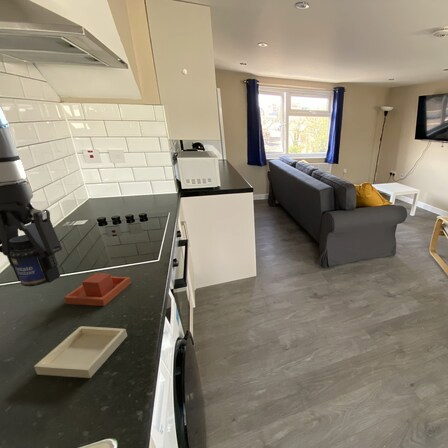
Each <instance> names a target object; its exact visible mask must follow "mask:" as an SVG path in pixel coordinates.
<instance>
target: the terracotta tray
mask: <svg viewBox="0 0 448 448" xmlns="http://www.w3.org/2000/svg"><path fill="white" fill-rule="evenodd" d="M111 278H112V281H113V285H114V288H113V289H111V290H110V291H109V292H108V293H106V294H105V295H104V296H103V297H96V296H86V293H85V290H84V287H83V284H81V285H79V286H78V287H77V288H75V289H74V290H72V291H71V292H70V293H68V294H67V295H65V296H64V297H63V299H64V301H65V304H66V305H80V306H99V307H105V306H106V305H108V304H109V303H110V302H111V301H112V300H113V299H114V298H116V297H117V296H118V295H119V294H120V293H122V292H123V291H124V290H125V289H126V288H127V287H128V286H129V285H130V284H132V282H131V278H130V277H129V276H112V275H111Z"/></svg>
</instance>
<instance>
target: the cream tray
mask: <svg viewBox="0 0 448 448" xmlns="http://www.w3.org/2000/svg"><path fill="white" fill-rule="evenodd" d="M127 337H128V332H127V329H126V328H115V327H103V326H101V327H99V326H98V327H97V326H82V325H81V326H79V327H78V328H76V330H74V331H73V332H72V333H71V334H69V335H68V336H67V337H66V338H65V339H64V340H63V341H61V342H60V343H59V344H58V345H56V346H55V347H54V348H53V349H52V350H51V351H50V352H49V353H48V354H47V355H44V357H43V358H41V359H40V360H39V361H38V362H37V363H36V364H35V365H33V368H34V370H35V373H36V375H40V376H53V377H54V376H55V377H68V378H83V379H84V378H85V379H91V378H92V377H93V376H94V375H95V374H96V372H97V371H98V370H99V369H100V368H101V367H102V366H103V364H104V363H106V361H107V360H108V359H109V357H111V355H112V354H113V353H114V352H115V351H116V350H117V348H119V347H120V345H121V344H122V343H123V342H124V341H125V340H126V338H127Z"/></svg>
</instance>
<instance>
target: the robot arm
mask: <svg viewBox="0 0 448 448" xmlns="http://www.w3.org/2000/svg"><path fill="white" fill-rule="evenodd" d="M26 178H27V175H26V171H25V170H24V166H23V163H22V161H21V158H20V154H19V151H18V148H17V146H16V142H15V140H14V137H13V133H12V131H11V127H10V123H9V121H8V120H7V118H6V116H5V113H4V111H3V109H2V107H1V106H0V253H2V254H3V255H4V256H6V257H7V261H8V262H9V265H10V266H11V268H12V269H13V271H14V273H15V276H16V278H17V281H18V282H21V281H20V279H19V276H18V274H17V272H16V269H15V267H14V264H13V262H12V259H11V257H10V252H11V250H13V249H14V248H13V247H12V246H11V245H10V242H9V240H10V239H12V238H14V237H17V236H19V232H23V233H24V235H26V236H27V237H28V239H29V240H30V242H31V243H32V244H33V246H34V247H35V249H36V250H37V251H38V253H39V254H40V256H38V261H39V263H40V266H41V268H42V271H43V274H44V276H45V279H46V281H47V283H49V284H50V283H52V282H53V281H55V280H57V279H59V278H61V273H60V271H59V268H58V265H59V263H58V260H57V257H56V253H58V252H60V251H62V250H63V247H62V245H61V243H60V239H59V237H58V235H57V233H56V231H55V227H54V225H53V223H52V221H51V212H50V210H48V209H43V210H41V209H38V208H36V207H35V205H34V204H33V203H32V202H31V200H32V199H33V197H34V194H33V191H32V188H31V185H30V183H29V181H27V180H26ZM45 249H46V250H45ZM47 283H46V284H47Z"/></svg>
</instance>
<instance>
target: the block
mask: <svg viewBox="0 0 448 448" xmlns="http://www.w3.org/2000/svg"><path fill="white" fill-rule="evenodd" d="M111 276H112V275H111V273H103V272H94V273H92V275H90V276H88V277H87V278H85V279H84V280H82V281H81V283H82V284H81V285H83V287H84V290H85V293H86V296H96V297H103V296H104V295H105V294H106V293H108V292H109V291H110V290H111V289H113V288H114V285H113V281H112V278H111Z"/></svg>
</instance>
